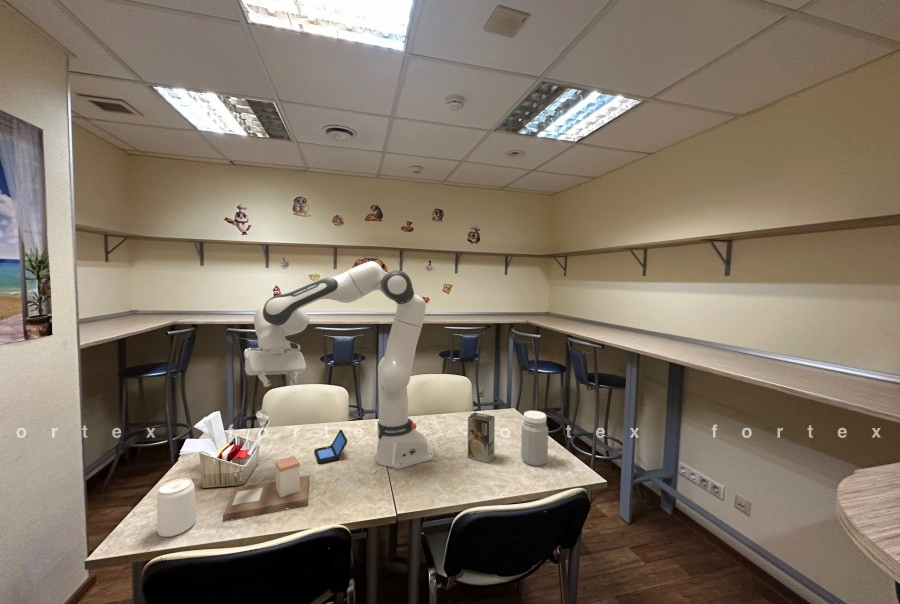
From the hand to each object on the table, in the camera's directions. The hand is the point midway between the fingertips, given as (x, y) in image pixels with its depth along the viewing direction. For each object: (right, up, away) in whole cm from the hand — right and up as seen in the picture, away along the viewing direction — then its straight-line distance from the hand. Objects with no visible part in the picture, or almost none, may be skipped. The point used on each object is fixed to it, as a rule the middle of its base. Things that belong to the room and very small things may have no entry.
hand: (281, 385), depth 119 cm
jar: (+89, -33, +15) cm, 96 cm away
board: (+1, -33, -10) cm, 34 cm away
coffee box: (+69, -32, +18) cm, 78 cm away
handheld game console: (+10, -32, +19) cm, 39 cm away
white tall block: (+6, -31, -8) cm, 33 cm away
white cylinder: (-17, -34, -23) cm, 44 cm away
